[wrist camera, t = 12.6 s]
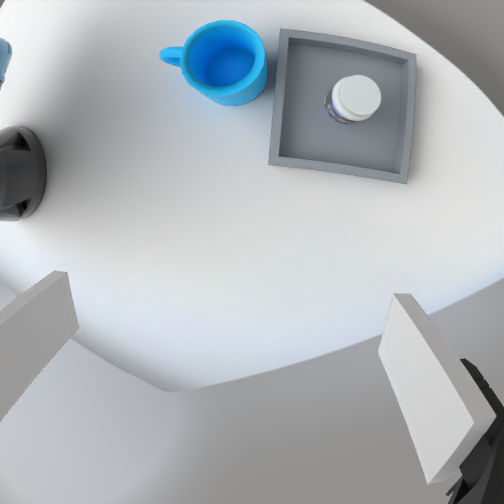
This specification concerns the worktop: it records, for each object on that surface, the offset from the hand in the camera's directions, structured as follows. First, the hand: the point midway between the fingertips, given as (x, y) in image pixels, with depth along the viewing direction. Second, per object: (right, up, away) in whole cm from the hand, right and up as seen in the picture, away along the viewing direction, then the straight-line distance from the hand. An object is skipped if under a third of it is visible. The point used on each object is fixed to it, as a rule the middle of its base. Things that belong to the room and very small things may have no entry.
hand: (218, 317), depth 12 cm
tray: (+12, +20, +22) cm, 32 cm away
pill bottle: (+12, +19, +21) cm, 31 cm away
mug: (-3, +24, +22) cm, 33 cm away
